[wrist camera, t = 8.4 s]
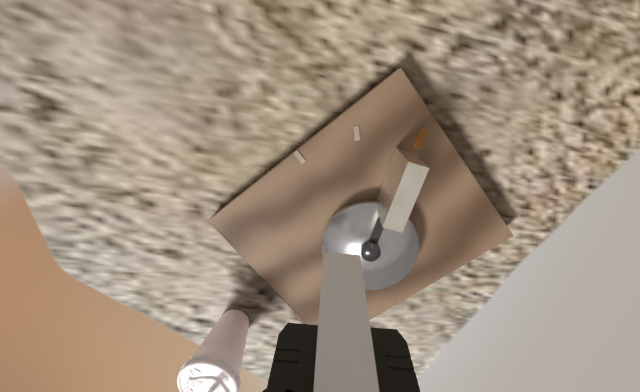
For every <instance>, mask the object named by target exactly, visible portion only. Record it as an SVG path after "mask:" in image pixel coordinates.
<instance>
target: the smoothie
mask: <svg viewBox="0 0 640 392" xmlns="http://www.w3.org/2000/svg"><path fill="white" fill-rule="evenodd" d="M248 328H249V319H248V317H247V315H246V314H245V313H243V312H242V311H239V310H234V309H233V310H228V311H226V312H225V313H224V314H223V315H222V316H221V318H220V319H219V321H218V322H217V323H216V325H215V326H214V328H213V329H212V330H211V332H210V333H209V335H208V336H207V337H206V339H205V340H204V342H203V343H202V344H201V346H200V347H199V349H198V350H197V351H196V353H195V354H194V356H193V357H192V358H191V359H189V360H187V361H186V362H185V363H184V364H183V366H182V368H181V370H180V373H179V374H178V378H177V385H178V388H179V391H180V392H238V390H239V387H240V377H239V374H240V369H241V363H242V358H243V353H244V348H245V343H246V338H247V333H248Z"/></svg>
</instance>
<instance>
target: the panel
mask: <svg viewBox="0 0 640 392" xmlns="http://www.w3.org/2000/svg"><path fill="white" fill-rule="evenodd" d="M395 148H399V149H402V150H405V151H408V152H412V153H414V154H415V155H416V156H417V157H418V158H419V159H420V160H421V161H422V162H424V163H425V164H426V165H427V166H428V167H429V168H430V169H429V171H428V173H427V176H426V178H425V180H424V183H423V185H422V187H421V190H420V192H419V195H418V197H417V199H416V202H415V204H414V206H413V209H412V211H411V213H410V216H409V219H410V220H411V222H412V224H413V226H414V228H415V230H416V232H417V235H418V239H419V253H418V258H417V260H416V263H415V265H414V266H413V268H412V269H411V271H410V272H409V273H408V274H407V275H406V276H405V277H404V278H403V279H402V280H400V281H399V282H397V283H396V284H394V285H391V286H389V287H386V288H383V289H378V290H365V293H366V301H367V308H368V315H369V320H370V319H372V318H374V317H375V316H377V315H379V314H381V313H382V312H384V311H386V310H387V309H389V308H391V307H392V306H394V305H396V304H398V303H399V302H401V301H403V300H404V299H406V298H408V297H410V296H411V295H413V294H415V293H416V292H418V291H420V290H422V289H423V288H425V287H427V286H428V285H430V284H432V283H434V282H435V281H437V280H439V279H440V278H442V277H444V276H446V275H447V274H449V273H451V272H452V271H454V270H456V269H458V268H459V267H461V266H463V265H464V264H466V263H468V262H470V261H471V260H473V259H475V258H476V257H478V256H480V255H481V254H483V253H485V252H487V251H488V250H490V249H492V248H493V247H495V246H497V245H499V244H500V243H502V242H504V241H505V240H507V239H509V238H511V237H512V236H513V234H512V233H511V231H510V230H509V228H508V227H507V225H506V224H505V222H504V221H503V219H502V218H501V216H500V215H499V213H498V212H497V210H496V209H495V207H494V206H493V204H492V203H491V201H490V200H489V198H488V197H487V195H486V194H485V192H484V191H483V189H482V188H481V187H480V185H479V184H478V182H477V181H476V179H475V178H474V176H473V175H472V173H471V172H470V170H469V169H468V167H467V166H466V164H465V163H464V161H463V160H462V158H461V157H460V155H459V154H458V152H457V151H456V149H455V148H454V146H453V145H452V143H451V142H450V140H449V139H448V137H447V136H446V134H445V133H444V131H443V130H442V128H441V127H440V125H439V124H438V122H437V121H436V119H435V118H434V116H433V115H432V113H431V112H430V110H429V109H428V107H427V106H426V104H425V103H424V101H423V100H422V99H421V97H420V96H419V94H418V93H417V91H416V90H415V88H414V87H413V85H412V84H411V82H410V81H409V79H408V78H407V76H406V75H405V73H404V72H403V70H402V69H401V68H398V69H396V70H395V71H394V72H392V73H391V74H390V75H389V76H387V77H386V78H385V79H384V80H382V81H381V82H380V83H379V84H377V85H376V86H375V87H374V88H372V89H371V90H370V91H368V92H367V93H366V94H365V95H363V96H362V97H361V98H360V99H358V100H357V101H356V102H355V103H353V104H352V105H351V106H350V107H348V108H347V109H346V110H345V111H343V112H342V113H341V114H340V115H338V116H337V117H336V118H335V119H333V120H332V121H331V122H330V123H328V124H327V125H326V126H324V127H323V128H322V129H321V130H319V131H318V132H317V133H316V134H314V135H313V136H312V137H311V138H309V139H308V140H307V141H306V142H304V143H303V144H302V145H301V146H299V147H298V148H297V149H296V150H294V151H293V152H292V153H291V154H289V155H288V156H287V157H286V158H284V159H283V160H282V161H280V162H279V163H278V164H277V165H275V166H274V167H273V168H272V169H270V170H269V171H268V172H267V173H265V174H264V175H263V176H262V177H260V178H259V179H258V180H257V181H255V182H254V183H253V184H252V185H250V186H249V187H248V188H247V189H245V190H244V191H243V192H242V193H240V194H239V195H238V196H236V197H235V198H234V199H233V200H231V201H230V202H229V203H228V204H226V205H225V206H224V207H223V208H221V209H220V210H219V211H218V212H216V213H215V214H214V215H213V216H212V217H211V218H210V219H209V220H208V221H209V222H210V223H211V225H212V226H213V227H214V228H215V229H216V230H217V231H218V232H219V233H220V234H221V235H222V236H223V237H224V238H225V239H226V240H227V241H228V242H229V243H230V245H231V246H232V247H233V248H234V249H235V250H236V251H237V252H238V253H239V254H240V255H241V256H242V257H243V258H244V259H245V260H246V261H247V262H248V263H249V265H250V266H251V267H252V268H253V269H254V270H255V271H256V272H257V273H258V274H259V275H260V276H261V277H262V278H263V279H264V280H265V281H266V282H267V283H268V284H269V286H270V287H271V288H272V289H273V290H274V291H275V292H276V293H277V294H278V295H279V296H280V297H281V298H282V299H283V300H284V301H285V302H286V303H287V304H288V306H289V307H290V308H291V309H292V310H293V311H294V312H295V313H296V314H297V315H298V316H299V317H300V318H301V319H302V320H303V321H304V322H305V323H306V324H309V325H318V320H319V306H320V292H321V278H322V264H323V254H322V241H323V234H324V230H325V227H326V225H327V223H328V221H329V219H330V218H331V217H332V216H333V214H335V213H336V212H337V211H338V210H339V209H340V208H342V207H343V206H345V205H347V204H349V203H351V202H354V201H358V200H363V199H377V196H378V193H379V191H380V188H381V186H382V183H383V180H384V178H385V175H386V172H387V170H388V167H389V164H390V162H391V159H392V156H393V154H394V151H395Z"/></svg>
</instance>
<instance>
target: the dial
mask: <svg viewBox="0 0 640 392" xmlns="http://www.w3.org/2000/svg"><path fill="white" fill-rule="evenodd" d="M429 169H430V168H429V167H428V166H427V165H426V164H425V163H424V162H422V161H421V160H420V159H419V158H418V157H417V156H416V155H415V154H414V153H412V152H408V151H405V150H402V149H399V148H395V151H394V154H393V156H392V159H391V162H390V164H389V167H388V170H387V172H386V175H385V178H384V180H383V183H382V186H381V188H380V191H379V193H378V196H377V199H363V200H358V201H354V202H351V203H349V204H347V205H345V206H343V207H342V208H340V209H339V210H338V211H337V212H336V213H335V214H333V216H332V217H331V218H330V219H329V221H328V223H327V225H326V227H325V230H324V234H323V241H322V254H323V253H338V254H354V255H360V258H361V265H362V272H363V279H364V286H365V290H378V289H383V288H386V287H389V286H391V285H394V284H396V283H397V282H399V281H400V280H402V279H403V278H404V277H405V276H406V275H407V274H408V273H409V272H410V271H411V269H412V268H413V266H414V265H415V263H416V260H417V258H418V253H419V239H418V235H417V232H416V230H415V228H414V226H413V224H412V222H411V220H410V219H409V216H410V213H411V211H412V209H413V206H414V204H415V202H416V199H417V197H418V195H419V192H420V190H421V187H422V185H423V183H424V180H425V178H426V176H427V173H428V171H429Z"/></svg>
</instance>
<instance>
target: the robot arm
mask: <svg viewBox="0 0 640 392" xmlns="http://www.w3.org/2000/svg"><path fill="white" fill-rule="evenodd" d="M263 392H420V389H419V385H418V382H417V378H416V374H415V372H414V367H413V363H412V360H411V356H410V353H409V349H408V345H407V342H406V341H405V339H404V338H403V337H402V336H401V334H400V333H399V332H398V330H395V329H381V328H370V322H369V315H368V308H367V301H366V293H365V286H364V279H363V272H362V265H361V258H360V255H354V254H338V253H323V264H322V278H321V292H320V306H319V320H318V325H309V324H295V323H288V324H287V325H286V326H285V327H284V329H283V330H282V331H281V332H280V334H279V336H278V341H277V345H276V351H275V354H274V359H273V363H272V368H271V372H270V377H269V381H268V386H267V389H265V390H264V391H263Z"/></svg>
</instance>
